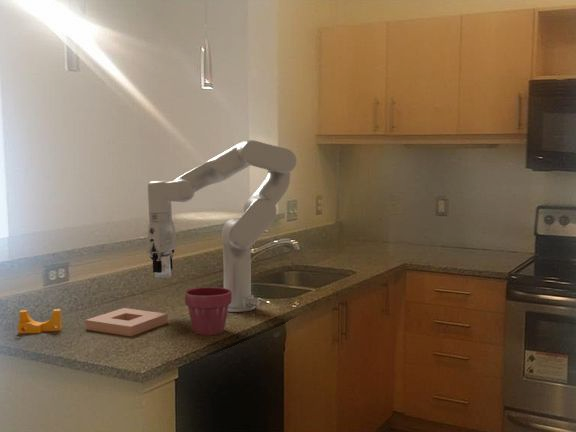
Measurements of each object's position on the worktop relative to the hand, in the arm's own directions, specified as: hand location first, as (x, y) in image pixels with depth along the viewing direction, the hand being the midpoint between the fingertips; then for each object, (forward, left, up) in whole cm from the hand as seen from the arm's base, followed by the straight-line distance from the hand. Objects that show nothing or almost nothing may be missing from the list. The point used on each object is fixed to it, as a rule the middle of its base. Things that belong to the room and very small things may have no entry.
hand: (162, 270), depth 238 cm
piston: (0, 0, -2) cm, 2 cm away
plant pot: (-27, +12, -15) cm, 33 cm away
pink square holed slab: (0, +18, -15) cm, 24 cm away
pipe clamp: (+21, +35, -15) cm, 44 cm away
